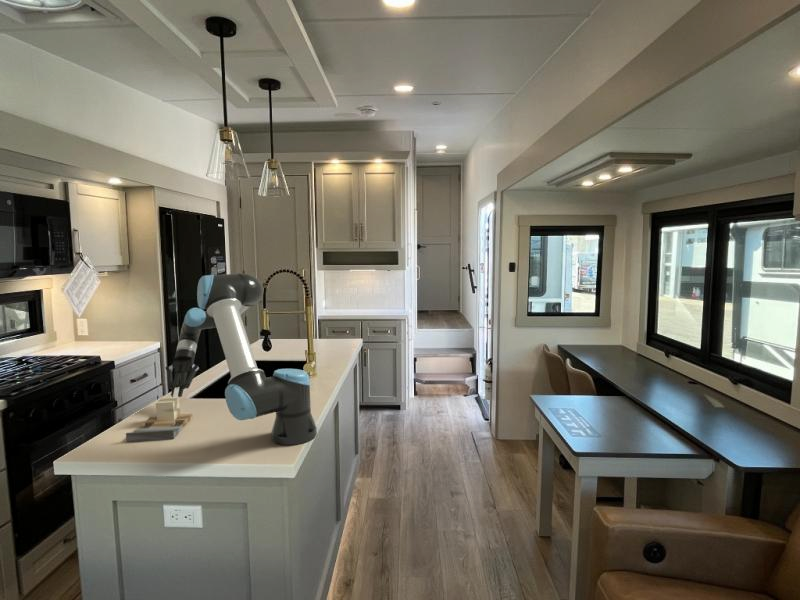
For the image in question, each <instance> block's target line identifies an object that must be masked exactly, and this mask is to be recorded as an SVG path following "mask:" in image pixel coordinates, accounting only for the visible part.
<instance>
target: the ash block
mask: <svg viewBox="0 0 800 600" xmlns="http://www.w3.org/2000/svg"><path fill="white" fill-rule="evenodd" d="M155 411H156V416H157V421H170V420H175V419H176V418H177V417H178V416H179V415H180V414H181V410H180V397H172V396H170V397H169V396H168V397H161V398H160V399H159V400H158V401H156V402H155Z"/></svg>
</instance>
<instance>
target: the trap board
mask: <svg viewBox="0 0 800 600" xmlns="http://www.w3.org/2000/svg"><path fill="white" fill-rule="evenodd" d="M193 416H194V415H193V413H180V415H179V416H178V417H177V418H176V419H175V420H170V421H157V415H151V416H150V417H148V418H147V419H146V420H145V421H144V422H143V423H142V424H141V425H139V426H138V427H137V428H136V429H135V430H134V431H133V432H126V433H125V437H126V439H125V440H126V443H135V442H136V443H137V442H139V443H140V442H149V441H151V442H153V441H163V440H164V441H165V440H174V439H175V438H176V437H177V436H178V435H179V434H180V432H181V431H182V430H183V429H185V428H184V427H186V426H187V425H188V423H189V422H190V421H191V420H192V419H193Z"/></svg>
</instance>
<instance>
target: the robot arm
mask: <svg viewBox="0 0 800 600" xmlns="http://www.w3.org/2000/svg"><path fill="white" fill-rule="evenodd" d="M263 295H264V286H263V285H262V283H261V282H260V280H259V279H258V278H256V276H253V275H251V274H249V273H244V272H243V273H229V274H228V273H227V274H208V275H202V276H201V277H200V279H199V280H198V284H197V292H196V296H197V298H196V299H197V307H192V308H190V309H189V310H187V312H186V314H185V315H184V319H183V322H182V325H181V328H180V334H179V339H178V343H177V346H176V352H175V355H174V360H173V362H172V363H171V365H169V366H165V368H164V369H165V370H166V374H167V376H166V377H167V387H168V388H169V390H171V393H170V395H171V396H170V397H179V398H182V396H183V393H184V390H185V389H189V388H190V386H191V384H192V382H193V379H194V378H195V375H197V374H196V373H197V372H198V371H199V370H200V367H199V365H198V364H195V357H196V352H197V349H198V342H199V338H200V334H201V331H202V330H207V329H216V330H217V334H218V337H219V341H220V344H221V347H222V351H223V354H224V357H225V360H226V363H227V367H228V371H229V374H230V378H229V380H228V382H227V384H228V385H227V386H226V388H225V390H224V397H225V404H226V405H227V408H228V410H229V413H230V414H231V416H232V417H234V418H235V419H236V420H238V421H246V420H253V419H255V418H258V417H259V418H260V417H262V416H263V417H264V416H267V415H269V414H274V413H275V419H274V422H273V426H272V429H271V440H272V441H273V443H275V444H277V445H283V446H294V445H301V444H304V443H307V442H310V441H312V440H314V439H315V438H316V437H317V434H318V432H317V431H318V428H317V424H316V423H315V420H314V417H313V415H312V410H311V383H310V382H311V380H310V375H309V373H308V372H307V371H305V370H302V369H300V368H299V369H298V368H278V369H276V370H274V371H273V373H272V376H269V377H266V373H265V371H264V370H263V369H261V368H258V366H257V362H256V358H255V355H254V352H253V350H252V347H251V344H250V341H249V338H248V334H247V332H246V331H247V330H246V328H245V325H244V323H243V320H242V319H243V318H242V316H241V315H243V313H244V312H245V311H247V310H248V309H249V308H250V307H254V306H256V305H257V304H259V302H260V301H261V300H262V298H263ZM205 310H206V311H205ZM173 369H174V378H173Z"/></svg>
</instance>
